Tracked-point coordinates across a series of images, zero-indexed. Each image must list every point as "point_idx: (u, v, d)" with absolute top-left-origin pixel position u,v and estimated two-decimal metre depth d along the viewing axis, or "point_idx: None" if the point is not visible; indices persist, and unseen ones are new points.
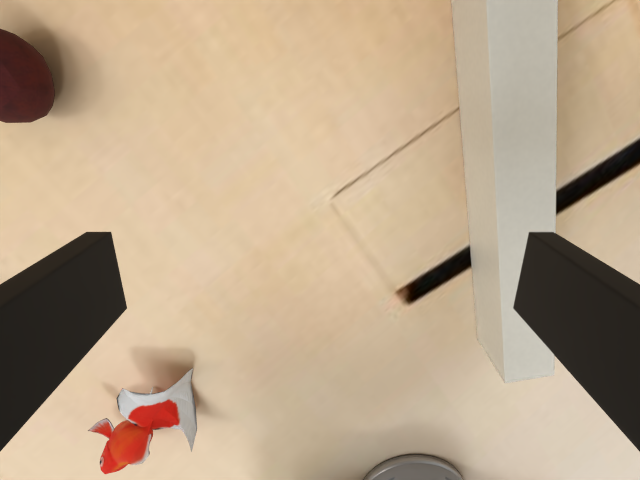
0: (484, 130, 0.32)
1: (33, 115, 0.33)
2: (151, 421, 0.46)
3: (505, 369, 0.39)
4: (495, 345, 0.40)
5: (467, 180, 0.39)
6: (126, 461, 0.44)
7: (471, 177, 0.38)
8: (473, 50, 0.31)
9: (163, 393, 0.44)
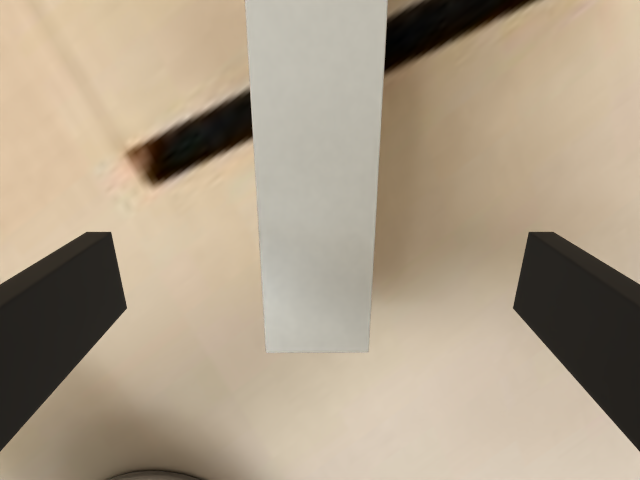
0: None
1: None
2: None
3: (267, 321, 0.18)
4: None
5: None
6: None
7: None
8: None
9: None
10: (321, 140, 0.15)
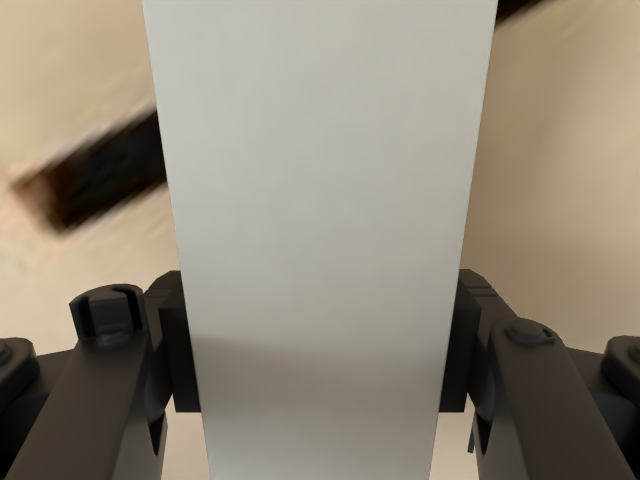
0: None
1: None
2: None
3: None
4: None
5: None
6: None
7: None
8: None
9: None
10: (332, 197, 0.06)
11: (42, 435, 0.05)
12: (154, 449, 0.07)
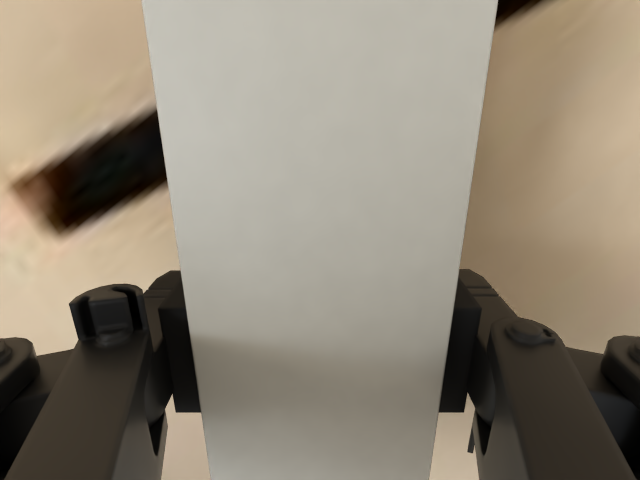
0: None
1: None
2: None
3: None
4: None
5: None
6: None
7: None
8: None
9: None
10: (332, 197, 0.06)
11: (42, 435, 0.05)
12: (154, 449, 0.07)
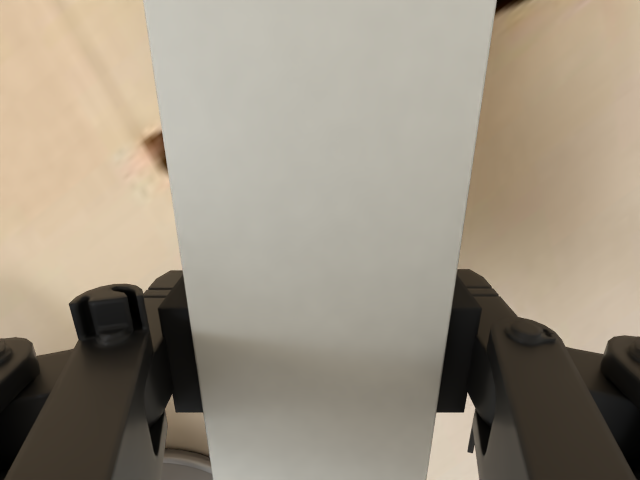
0: None
1: None
2: None
3: None
4: None
5: None
6: None
7: None
8: None
9: None
10: (331, 197, 0.06)
11: (42, 435, 0.05)
12: (154, 449, 0.07)
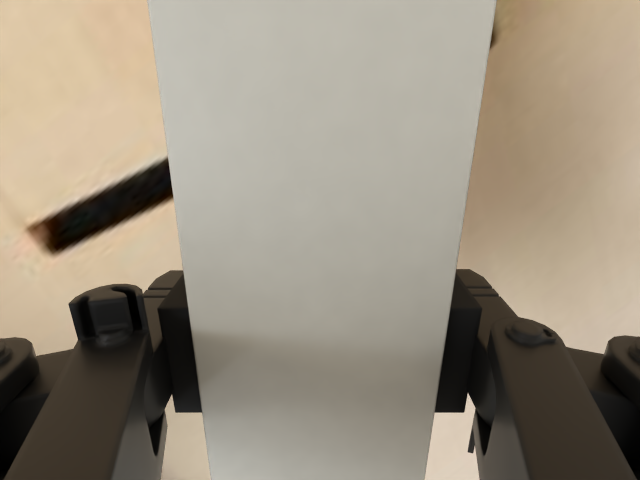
0: None
1: None
2: None
3: None
4: None
5: None
6: None
7: None
8: None
9: None
10: (331, 196, 0.07)
11: (42, 435, 0.05)
12: (154, 449, 0.07)
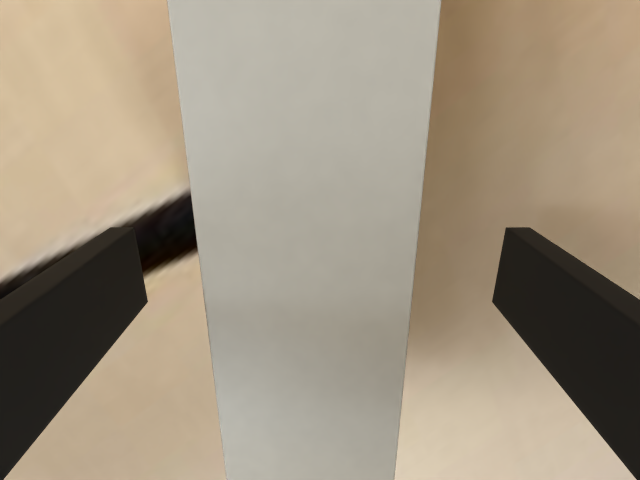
0: None
1: None
2: None
3: (227, 451, 0.11)
4: None
5: None
6: None
7: None
8: None
9: None
10: (316, 161, 0.08)
11: None
12: None
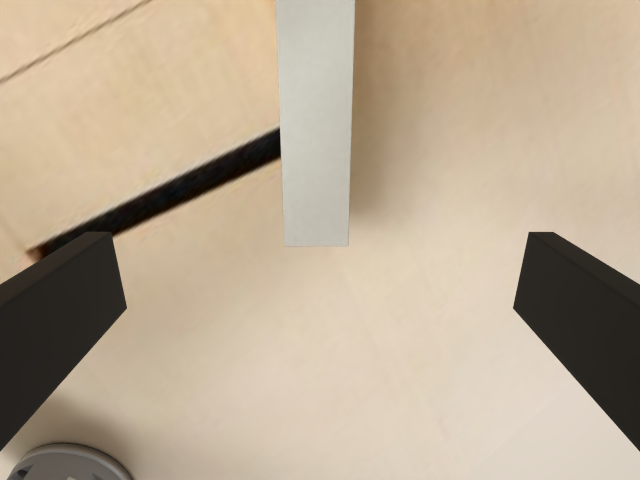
0: None
1: None
2: None
3: (285, 224, 0.30)
4: None
5: None
6: None
7: None
8: None
9: None
10: (318, 111, 0.27)
11: None
12: None
